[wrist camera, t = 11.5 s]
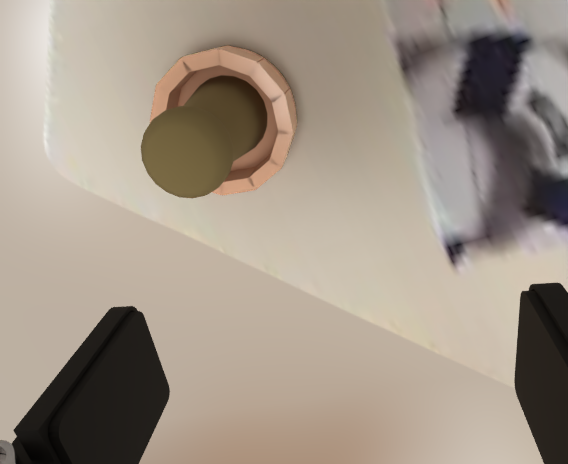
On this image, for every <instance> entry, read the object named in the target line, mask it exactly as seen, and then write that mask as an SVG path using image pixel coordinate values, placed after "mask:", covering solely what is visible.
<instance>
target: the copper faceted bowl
mask: <svg viewBox="0 0 568 464" xmlns="http://www.w3.org/2000/svg"><path fill="white" fill-rule="evenodd" d="M220 75H226V76H235V77H238V78H240V79H242V80H245V81H247V82H248V83H249V84H250V85H251V86H253V87H254V88H255V89H256V90H257V91H258V93H259V94H260V96H261V97H262V99H263V100H264V103H265V107H266V110H267V128H266V131H265V134H264V137H263V139H262V140H261V141H260V142H259V144H258V145H257V146H256V147H255V148H254V149H252V150H251V151H249V152H248V153H246V154H244V155H243V156H241V157H240V158H238V159H237V160H235V161H234V162H233V164H232V167H231V170H230V173H229V175H228V177H227V178H226V179H225V181H224V182H223V183H222V184H221V186H220V187H219V188H217V189H216V190H214V191H212V192H213V193H216V194H219V195H227V194H233V193H240V192H246V191H252V190H255V189H257V188H258V187H260V186H261V185H262V184H263V183H264V182H266V181H267V180H268V179H269V178H270V177H271V176H273V175H274V174H275V173H276V172H277V171H279V170H280V169H281V168H282V166H283V164H284V162H285V160H286V157H287V154H288V151H289V148H290V145H291V143H292V140H293V138H294V134H295V130H296V127H297V114H296V105H295V101H294V97H293V94H292V92H291V89H290V87H289V85H288V83H287V81H286V80H285V78H284V77H283V75H282V74H281V73H280V71H279V70H278V69H277V68H276V67H275V66H274V65H273V64H272V63H270V62H269V61H268V60H267V59H265V58H264V57H262V56H260V55H259V54H257V53H254V52H252V51H250V50H247V49H243V48H238V47H232V46H229V45H227V46H223V47H218V48H213V49H210V50H206V51H202V52H197V53H193V54H190V55H187V56H184V57H181V58H180V59H179V60H178V61H177V62H176V63H175V65H174V66H173V67H172V68H171V69H170V70H169V71H168V72H167V73H166V74H165V76H164V77H163V78H162V79H161V80H160V81H159V82H158V83H157V84H156V88H155V94H154V100H153V106H152V112H151V118H150V121H152V120H153V119H154V118H155V117H157V116H158V115H160V114H161V113H162V112H164V111H166V110H168V109H171V108H175V107H179V106H183V105H184V104H185V103H186V102H187V101H188V99H189V98H190V97H191V96H192V94H193V93H194V92H195V91H196V89H197V88H198V87H199V86H200V85H201V84H202V83H204V82H205V81H207V80H208V79H210V78H213V77H217V76H220ZM150 123H151V122H150Z"/></svg>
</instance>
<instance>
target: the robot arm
mask: <svg viewBox="0 0 568 464" xmlns="http://www.w3.org/2000/svg"><path fill="white" fill-rule="evenodd" d="M515 390H516V394H517V397H518V399H519V402H520V405H521V407H522V410H523V412H524V415H525V417H526V420H527V422H528V424H529V427H530V429H531V432H532V435H533V437H534V439H535V442H536V444H537V447H538V449H539V452H540V454H541V457H542V459H543V462H544V464H568V293H567V291H566V290H565V288H564V287H563V286H562V285H561V284H560V283H545V284H532V285H530V288H529V291H522V293H521V297H520V310H519V324H518V338H517V353H516V367H515ZM169 392H170V391H169V385H168V382H167V379H166V377H165V374H164V371H163V368H162V365H161V362H160V360H159V357H158V354H157V351H156V349H155V346H154V343H153V341H152V337H151V334H150V332H149V329H148V326H147V323H146V320H145V318H144V315H143V313H142V312H140V311H137V309H136V308H135V307H133V306H127V307H113V308H111V309H110V310H109V311H108V312H107V313H106V314H105V316H104V317H103V318H102V319H101V321H100V322H99V323H98V324H97V326H96V327H95V328H94V330H93V331H92V332H91V333H90V334H89V336H88V337H87V338H86V340H85V341H84V342H83V343H82V345H81V346H80V347H79V348H78V350H77V351H76V352H75V353H74V355H73V356H72V357H71V358H70V360H69V361H68V362H67V364H66V365H65V366H64V367H63V369H62V370H61V371H60V372H59V374H58V375H57V376H56V377H55V379H54V380H53V381H52V383H51V384H50V385H49V386H48V387H47V389H46V390H45V391H44V392H43V394H42V395H41V396H40V398H39V399H38V400H37V401H36V403H35V404H34V405H33V406H32V408H31V409H30V410H29V411H28V413H27V414H26V415H25V416H24V418H23V419H22V420H21V421H20V423H19V424H18V425H17V427H16V428H15V429H14V432H15V434H16V435H17V437H16V439H15V440H14V441H13V443H12V444H11V443H9V442H7V441H4V440H0V464H139V462H140V459H141V457H142V455H143V453H144V451H145V449H146V446H147V445H148V442H149V440H150V438H151V436H152V434H153V432H154V429H155V427H156V425H157V423H158V421H159V419H160V417H161V415H162V412H163V410H164V408H165V406H166V404H167V402H168V399H169Z"/></svg>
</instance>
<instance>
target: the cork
mask: <svg viewBox="0 0 568 464" xmlns="http://www.w3.org/2000/svg"><path fill="white" fill-rule="evenodd" d="M266 128H267V110H266V107H265V103H264V100H263V99H262V97H261V96H260V94H259V93H258V91H257V90H256V89H255V88H254V87H253V86H251V85H250V84H249V83H248V82H247V81H245V80H242V79H240V78H238V77H235V76H226V75H220V76H217V77H213V78H210V79H208V80H207V81H205V82H204V83H202V84H201V85H200V86H199V87H198V88H197V89H196V91H195V92H194V93H193V94H192V96H191V97H190V98H189V99H188V101H187V102H186V103H185V104H184V105H183V106H179V107H175V108H171V109H168V110H166V111H164V112H162V113H161V114H160V115H158V116H157V117H155V118H154V119H153V120H152V121H151V123H150V125H149V126H148V128H147V129H146V131H145V133H144V135H143V140H142V144H141V153H142V161H143V163H144V166H145V168H146V171H147V173H148V174H149V176H150V177H151V178H152V179H153V181H154V182H155V183H156V184H157V185H158V186H159V187H161V188H162V189H163V190H165V191H166V192H168V193H170V194H173V195H175V196H178V197H184V198H196V197H201V196H205V195H207V194H209V193H211V192H212V191H214V190H216V189H217V188H219V187H220V186H221V184H222V183H223V182H224V181H225V179H226V178H227V177H228V175H229V173H230V170H231V167H232V164H233V162H234V161H235V160H237V159H238V158H240V157H241V156H243V155H244V154H246V153H248V152H249V151H251V150H252V149H254V148H255V147H256V146H257V145H258V144H259V142H260V141H261V140H262V139H263V137H264V134H265V131H266Z"/></svg>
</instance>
